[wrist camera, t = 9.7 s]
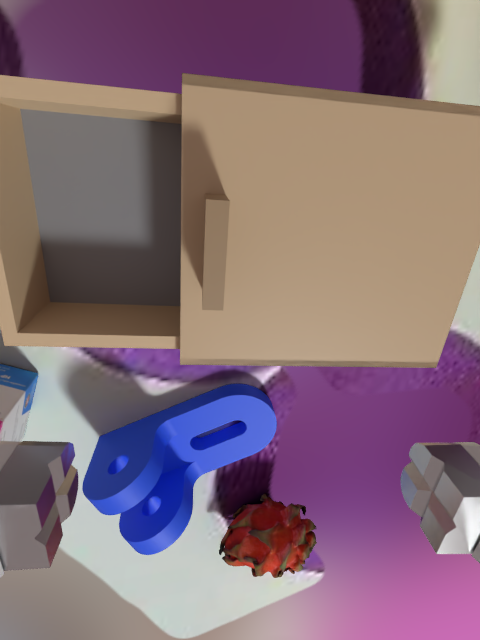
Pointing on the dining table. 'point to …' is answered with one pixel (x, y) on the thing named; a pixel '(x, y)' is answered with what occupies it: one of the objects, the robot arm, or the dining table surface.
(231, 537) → the dragon fruit
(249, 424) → the bracket
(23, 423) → the ink box
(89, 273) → the mailer box
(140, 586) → the dining table surface
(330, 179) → the lid
